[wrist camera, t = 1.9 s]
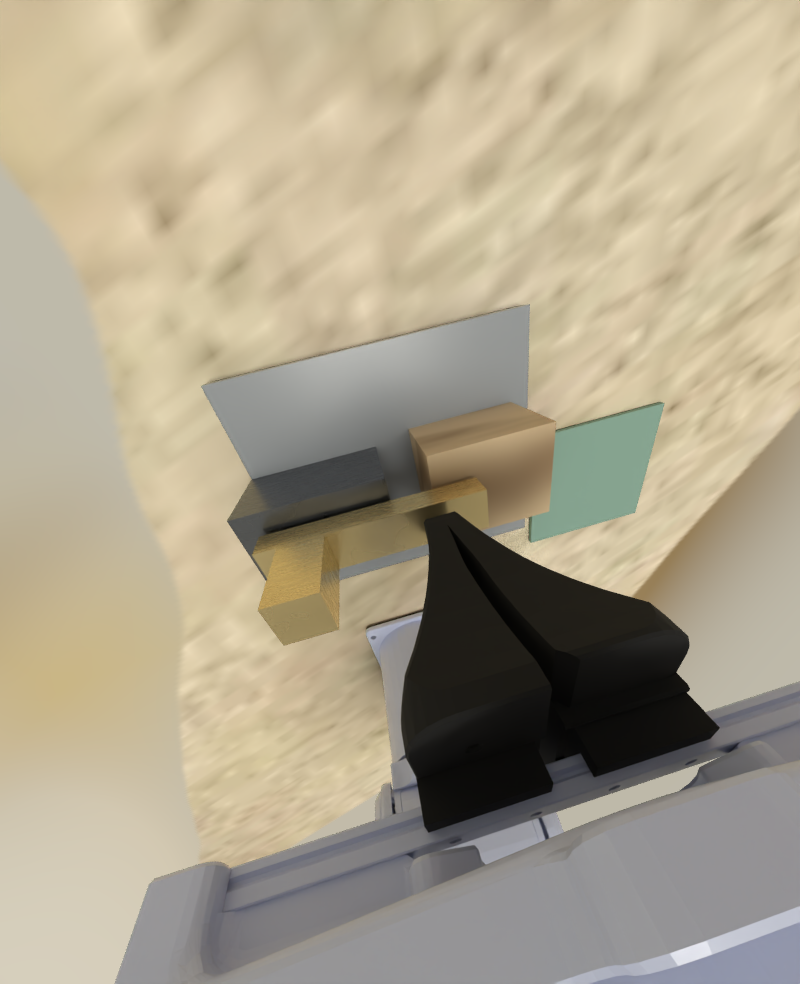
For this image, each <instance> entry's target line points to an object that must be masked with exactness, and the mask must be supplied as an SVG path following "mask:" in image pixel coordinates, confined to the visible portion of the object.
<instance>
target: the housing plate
mask: <svg viewBox="0 0 800 984" xmlns="http://www.w3.org/2000/svg"><path fill="white" fill-rule="evenodd" d="M529 314H530V304H529V305H521V306H516V307H512V308H508V309H504V310H500V311H496V312H492V313H488V314H484V315H480V316H476V317H472V318H468V319H464V320H460V321H456V322H451V323H447V324H443V325H439V326H435V327H431V328H427V329H423V330H419V331H415V332H411V333H407V334H403V335H399V336H395V337H391V338H387V339H383V340H379V341H375V342H371V343H367V344H363V345H359V346H355V347H351V348H347V349H343V350H339V351H335V352H331V353H326V354H322V355H318V356H314V357H310V358H306V359H302V360H298V361H294V362H290V363H286V364H282V365H278V366H274V367H270V368H266V369H262V370H258V371H254V372H250V373H246V374H242V375H238V376H234V377H230V378H226V379H222V380H218V381H214V382H210V383H207V384H205V385H202V386H201V387H202V389H203V391H204V393H205V395H206V396H207V398H208V400H209V402H210V404H211V406H212V407H213V409H214V411H215V413H216V415H217V417H218V418H219V420H220V422H221V424H222V426H223V428H224V429H225V431H226V433H227V435H228V437H229V438H230V440H231V442H232V444H233V446H234V448H235V449H236V451H237V453H238V455H239V457H240V459H241V460H242V462H243V464H244V466H245V468H246V470H247V471H248V473H249V475H250V477H251V479H252V480H251V482H250V483H249V485H248V487H247V488H246V490H245V492H244V493H243V495H242V497H241V499H240V500H239V502H238V504H237V505H236V507H235V509H234V510H233V512H232V514H231V515H230V517H229V519H228V521H227V522H228V523H229V525H230V526H231V528H232V529H233V531H234V532H235V534H236V536H237V537H238V539H239V540H240V542H241V543H242V545H243V546H244V548H245V549H246V551H247V552H248V554H249V555H250V557H251V558H252V560H253V562H254V563H255V565H256V566H257V568H258V569H259V571H260V572H261V574H262V575H263V577H264V578H265V580H266V581H267V578H266V576H265V575H264V573H263V572H262V570H261V569H260V567H259V566H258V564H257V562H256V561H255V559H254V558H253V556H252V553H253V551H254V548H255V546H256V543H257V541H258V538H259V537H260V536H264V535H267V534H271V533H274V532H278V531H282V530H285V529H289V528H293V527H296V526H300V525H303V524H307V523H311V522H314V521H318V520H322V519H325V518H329V517H333V516H336V515H340V514H343V513H347V512H351V511H354V510H358V509H362V508H365V507H369V506H373V505H376V504H380V503H383V502H387V501H391V500H394V499H398V498H402V497H405V496H409V495H412V494H416V493H420V492H421V490H420V485H419V480H418V475H417V470H416V465H415V460H414V455H413V450H412V445H411V440H410V435H409V430H408V429H410V428H414V427H418V426H421V425H425V424H429V423H433V422H437V421H440V420H444V419H448V418H452V417H456V416H459V415H463V414H467V413H471V412H474V411H478V410H482V409H486V408H490V407H493V406H497V405H501V404H505V403H509V402H512V403H515V404H517V405H519V406H521V407H524V408H526V409H527V400H528V357H529ZM523 527H525V518H524V519H521V520H517V521H514V522H510V523H507V524H503V525H500V526H496V527H493V528H489V529H486V530H482V532H484V533H485V534H487V535H488V536H489V537H492V536H495V535H499V534H502V533H506V532H509V531H513V530H516V529H520V528H523ZM426 555H429V546H428V544H426V545H422V546H419V547H415V548H412V549H408V550H405V551H401V552H398V553H394V554H391V555H387V556H384V557H380V558H377V559H373V560H370V561H366V562H363V563H359V564H356V565H352V566H349V567H345V568H341V569H340V571H339V580H342V579H345V578H349V577H352V576H356V575H359V574H363V573H366V572H370V571H373V570H377V569H380V568H384V567H387V566H391V565H394V564H398V563H401V562H405V561H408V560H412V559H415V558H419V557H422V556H426Z"/></svg>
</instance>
